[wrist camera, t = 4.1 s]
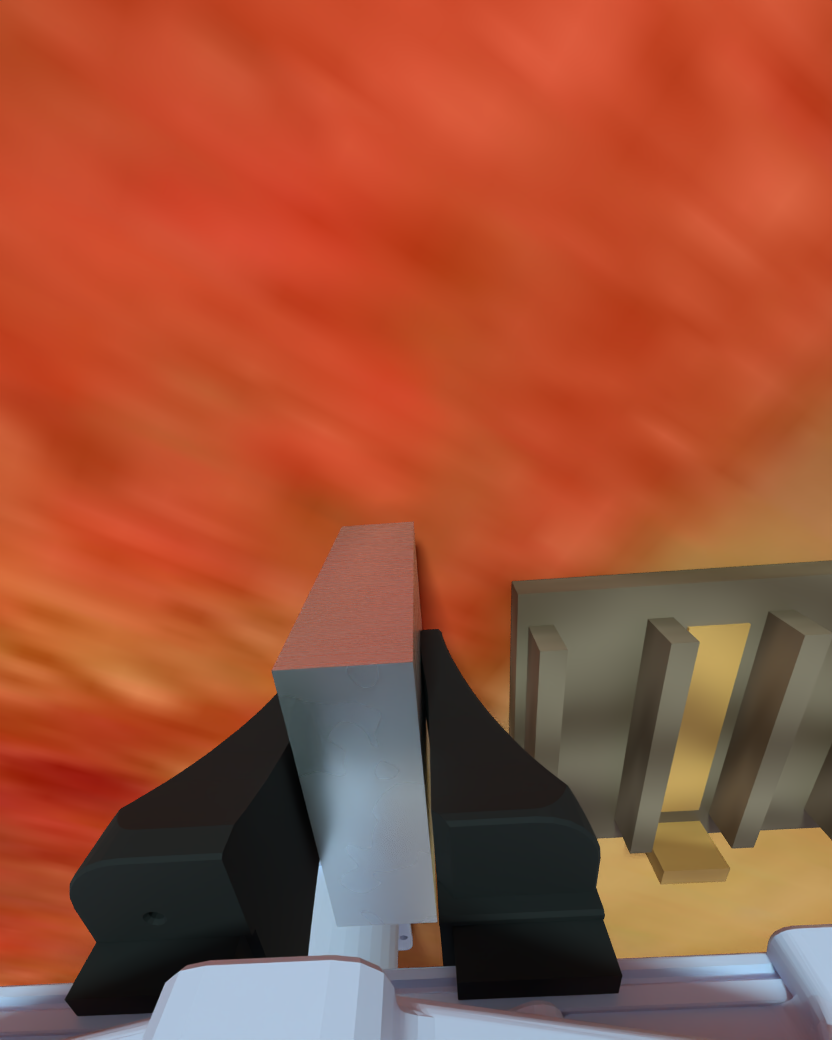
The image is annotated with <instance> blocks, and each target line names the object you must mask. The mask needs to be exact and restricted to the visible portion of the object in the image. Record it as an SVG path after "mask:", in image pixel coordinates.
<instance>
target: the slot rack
mask: <svg viewBox="0 0 832 1040" xmlns="http://www.w3.org/2000/svg"><path fill="white" fill-rule="evenodd" d="M509 735H510V736H511V737H512V738H513V739H514V740H515V741H516V742H517V743H518V744H519V745H520V746H521V747H522V748H523V749H524V750H525V751H526V752H528V753H529V754H530V755H531V756H532V757H533V758H534V759H535V760H537V761H538V762H539V763H540V764H541V765H542V766H544V767H545V768H546V769H547V770H549V771H550V772H551V773H552V774H554V775H555V776H556V777H558V778H559V779H560V780H561V781H563V782H564V783H565V784H567V785H568V786H569V788H570V789H571V791H572V792H573V794H574V796H575V797H576V799H577V801H578V802H579V804H580V806H581V808H582V809H583V811H584V813H585V815H586V817H587V819H588V821H589V823H590V825H591V827H592V829H593V831H594V833H595V835H596V838H616V837H623V839H624V841H625V843H626V845H627V848H628V850H629V852H630V853H646V855H647V857H648V859H649V861H650V863H651V865H652V867H653V869H654V872H655V874H656V876H657V878H658V880H659V882H660V884H681V883H702V882H723V881H726V879H727V876H728V873H729V870H730V867H729V866H728V864H727V863H726V861H725V859H724V858H723V856H722V855H721V853H720V852H719V850H718V848H717V847H716V845H715V844H714V842H713V841H712V839H711V838H710V836H709V834H708V833H717V832H721V833H722V835H723V836H724V837H725V839H726V840H727V842H728V843H729V845H730V846H731V848H751V847H754V845H755V842H756V840H757V837H758V834H759V832H760V830H777V829H797V828H817V827H820V828H821V829H822V830H823V831H824V832H825V833H826V834H827V835H828V836H829V838H830V839H831V840H832V561H818V562H803V563H787V564H772V565H756V566H741V567H726V568H710V569H695V570H680V571H664V572H649V573H633V574H618V575H603V576H587V577H572V578H557V579H541V580H526V581H512V602H511V657H510V713H509Z"/></svg>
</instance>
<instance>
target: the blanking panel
mask: <svg viewBox="0 0 832 1040" xmlns="http://www.w3.org/2000/svg"><path fill="white" fill-rule="evenodd" d="M420 630H422V620H421V608H420V596H419V583H418V571H417V558H416V546H415V533H414V522H402V523H388V524H373V525H359V526H345V527H342V528H341V530H340V532H339V534H338V536H337V538H336V540H335V542H334V544H333V546H332V548H331V550H330V552H329V554H328V556H327V559H326V561H325V563H324V565H323V567H322V569H321V571H320V573H319V575H318V577H317V579H316V581H315V583H314V585H313V587H312V589H311V591H310V593H309V595H308V597H307V599H306V601H305V603H304V606H303V608H302V610H301V612H300V614H299V616H298V618H297V620H296V622H295V624H294V626H293V628H292V630H291V632H290V634H289V636H288V638H287V640H286V642H285V644H284V646H283V648H282V651H281V653H280V655H279V657H278V659H277V661H276V663H275V665H274V667H273V669H272V674H273V678H274V682H275V686H276V690H277V694H278V697H279V701H280V705H281V709H282V713H283V717H284V721H285V725H286V729H287V733H288V737H289V741H290V744H291V748H292V752H293V756H294V760H295V764H296V768H297V772H298V776H299V780H300V784H301V788H302V792H303V795H304V799H305V803H306V807H307V811H308V815H309V819H310V823H311V827H312V831H313V835H314V839H315V842H316V846H317V850H318V854H319V858H320V862H321V866H322V870H323V874H324V878H325V882H326V886H327V890H328V893H329V897H330V901H331V905H332V909H333V913H334V917H335V921H336V925H337V927H347V926H368V925H390V924H411V923H432V922H437V905H436V881H435V858H434V838H433V826H432V815H431V778H430V743H429V735H428V728H427V720H426V710H425V698H424V687H423V675H422V663H421V651H420Z"/></svg>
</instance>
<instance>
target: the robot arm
mask: <svg viewBox="0 0 832 1040" xmlns="http://www.w3.org/2000/svg"><path fill="white" fill-rule="evenodd" d="M420 651H421V663H422V675H423V687H424V698H425V710H426V720H427V728H428V735H429V743H430V778H431V815H432V826H433V838H434V849H435V861H436V872H437V888H438V909H439V926H440V933H441V944H442V956H443V967H421V968H398V950H409V949H411V948H412V946H413V937H412V930H411V924H390V925H368V926H347V927H337V925H336V921H335V917H334V913H333V909H332V905H331V901H330V897H329V893H328V890H327V886H326V882H325V878H324V874H323V870H322V866H321V862H320V858H319V854H318V850H317V846H316V842H315V839H314V835H313V831H312V827H311V823H310V819H309V815H308V811H307V807H306V803H305V799H304V795H303V792H302V788H301V784H300V780H299V776H298V772H297V768H296V764H295V760H294V756H293V752H292V748H291V744H290V741H289V737H288V733H287V729H286V725H285V721H284V717H283V713H282V709H281V705H280V701H279V697H278V694H276V695H275V696H274V697H273V698H272V699H271V700H270V701H269V702H268V703H267V704H266V705H265V706H264V707H263V708H262V709H261V710H260V711H259V712H258V713H257V714H256V715H255V716H254V717H252V718H251V719H250V720H249V721H248V722H247V723H246V724H245V725H243V726H242V727H241V728H240V729H239V730H237V731H236V732H235V733H234V734H232V735H231V736H230V737H228V738H227V739H226V740H225V741H223V742H222V743H221V744H220V745H218V746H217V747H216V748H214V749H213V750H212V751H211V752H209V753H208V754H207V755H205V756H204V757H202V758H201V759H199V760H198V761H197V762H195V763H194V764H192V765H191V766H189V767H188V768H186V769H185V770H184V771H182V772H181V773H179V774H178V775H176V776H175V777H173V778H171V779H170V780H168V781H167V782H165V783H164V784H162V785H160V786H159V787H157V788H155V789H154V790H152V791H150V792H149V793H147V794H145V795H143V796H142V797H140V798H138V799H137V800H135V801H133V802H132V803H130V804H128V805H127V806H125V807H123V808H121V809H120V810H119V811H118V813H117V814H116V816H115V817H114V818H113V820H112V821H111V822H110V824H109V825H108V827H107V828H106V830H105V831H104V832H103V834H102V835H101V837H100V838H99V840H98V841H97V843H96V844H95V846H94V847H93V849H92V850H91V852H90V853H89V855H88V856H87V857H86V859H85V860H84V862H83V863H82V865H81V866H80V868H79V869H78V871H77V872H76V874H75V875H74V877H73V879H72V881H71V882H70V899H71V902H72V904H73V906H74V909H75V910H76V912H77V913H78V915H79V916H80V918H81V919H82V921H83V922H84V924H85V925H86V927H87V928H88V930H89V932H90V933H91V935H92V936H93V938H94V939H95V941H96V942H97V943H96V944H95V946H94V948H93V950H92V952H91V953H90V955H89V957H88V959H87V960H86V962H85V964H84V966H83V967H82V969H81V971H80V973H79V975H78V976H77V978H76V980H75V982H74V983H60V984H37V985H15V986H0V1040H832V924H821V925H799V926H789V927H784V928H781V929H779V930H777V931H775V932H774V933H773V934H772V935H771V937H770V939H769V941H768V946H767V952H759V953H736V954H714V955H691V956H669V957H646V958H623V959H617V958H616V955H615V953H614V950H613V947H612V944H611V941H610V938H609V935H608V932H607V930H606V927H605V924H604V921H603V919H604V917H605V914H604V909H603V906H602V903H601V900H600V897H599V895H598V892H597V889H596V884H597V878H598V871H599V865H600V858H601V857H600V846H599V844H598V841H597V838H596V835H595V833H594V831H593V829H592V827H591V825H590V823H589V821H588V819H587V817H586V815H585V813H584V811H583V809H582V808H581V806H580V804H579V802H578V801H577V799H576V797H575V796H574V794H573V792H572V791H571V789H570V788H569V786H568V785H567V784H565V783H564V782H563V781H561V780H560V779H559V778H558V777H556V776H555V775H554V774H552V773H551V772H550V771H549V770H547V769H546V768H545V767H544V766H542V765H541V764H540V763H539V762H538V761H537V760H535V759H534V758H533V757H532V756H531V755H530V754H529V753H528V752H526V751H525V750H524V749H523V748H522V747H521V746H520V745H519V744H518V743H517V742H516V741H515V740H514V739H513V738H512V737H511V736H510V735H509V734H508V733H507V732H506V731H505V730H504V729H503V728H502V727H501V726H500V725H499V724H498V722H497V721H496V720H495V719H494V718H493V717H492V716H491V714H490V713H489V712H488V711H487V710H486V708H485V707H484V706H483V705H482V703H481V702H480V701H479V699H478V698H477V697H476V695H475V694H474V693H473V691H472V690H471V688H470V687H469V685H468V684H467V682H466V681H465V679H464V678H463V676H462V675H461V673H460V671H459V670H458V668H457V666H456V664H455V663H454V661H453V659H452V657H451V655H450V653H449V651H448V649H447V647H446V644H445V642H444V639H443V636H442V632H441V631H440V630H438V629H432V630H420Z"/></svg>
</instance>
